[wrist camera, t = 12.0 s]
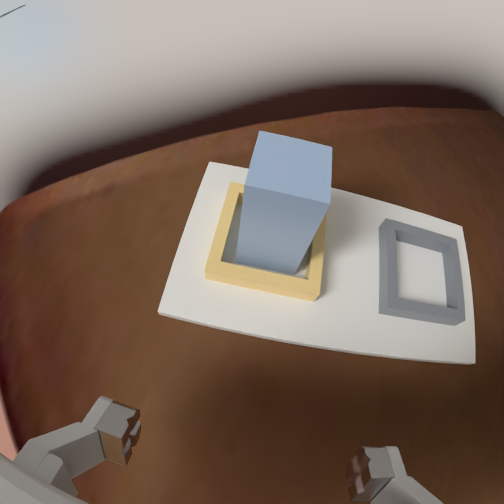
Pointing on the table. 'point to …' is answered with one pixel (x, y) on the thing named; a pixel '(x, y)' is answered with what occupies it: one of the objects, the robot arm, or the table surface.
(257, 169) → the plug
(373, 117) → the table surface
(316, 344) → the white board with frames
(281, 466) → the table surface
